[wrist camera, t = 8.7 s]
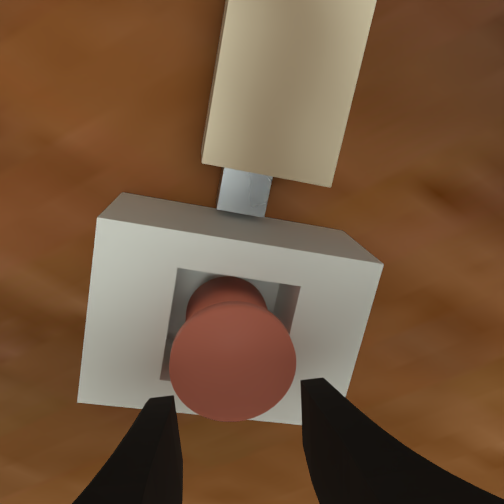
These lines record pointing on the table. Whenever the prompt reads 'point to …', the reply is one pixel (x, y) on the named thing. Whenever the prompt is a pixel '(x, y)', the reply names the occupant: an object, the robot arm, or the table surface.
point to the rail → (243, 192)
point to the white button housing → (202, 270)
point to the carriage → (285, 86)
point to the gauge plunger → (231, 353)
